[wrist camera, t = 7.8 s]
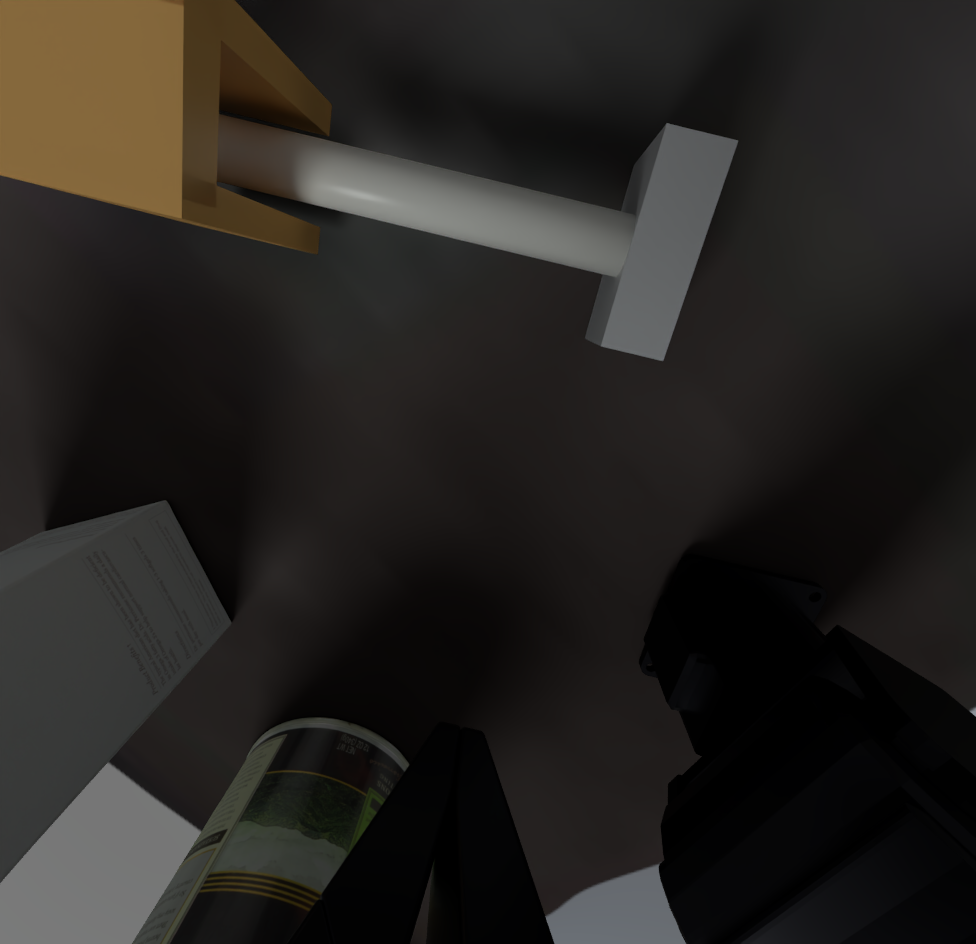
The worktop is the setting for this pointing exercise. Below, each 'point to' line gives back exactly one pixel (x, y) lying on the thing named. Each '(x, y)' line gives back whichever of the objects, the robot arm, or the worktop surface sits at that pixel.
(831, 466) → the worktop surface
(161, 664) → the supplement box
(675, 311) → the grey mallet
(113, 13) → the sleeve
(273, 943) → the coffee can
